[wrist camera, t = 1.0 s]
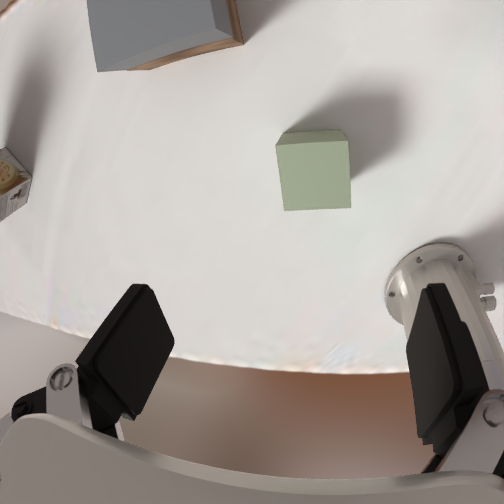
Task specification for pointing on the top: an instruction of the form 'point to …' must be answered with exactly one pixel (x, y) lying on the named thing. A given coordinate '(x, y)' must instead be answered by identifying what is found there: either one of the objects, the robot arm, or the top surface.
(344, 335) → the top surface
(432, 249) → the robot arm
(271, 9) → the top surface
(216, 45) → the walnut block
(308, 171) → the sage block
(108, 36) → the grey square block
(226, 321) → the top surface
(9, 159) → the coffee box
